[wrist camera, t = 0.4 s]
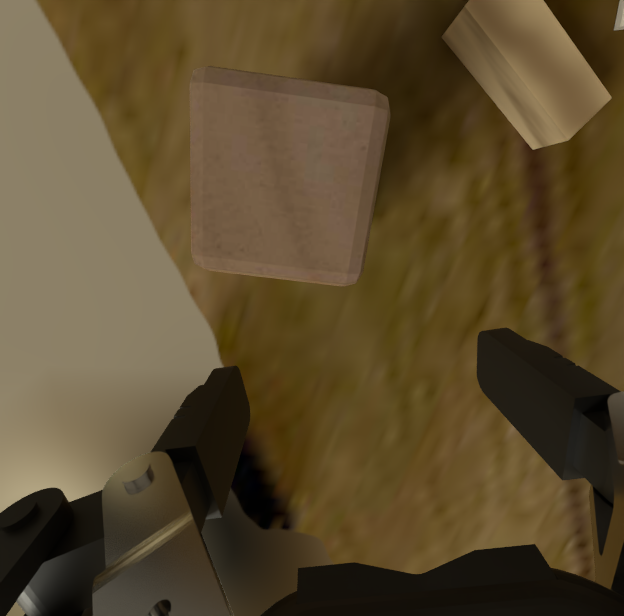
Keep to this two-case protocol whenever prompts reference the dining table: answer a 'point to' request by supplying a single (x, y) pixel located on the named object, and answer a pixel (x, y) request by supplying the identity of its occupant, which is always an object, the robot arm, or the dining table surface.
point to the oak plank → (527, 67)
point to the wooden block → (283, 174)
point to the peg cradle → (620, 17)
